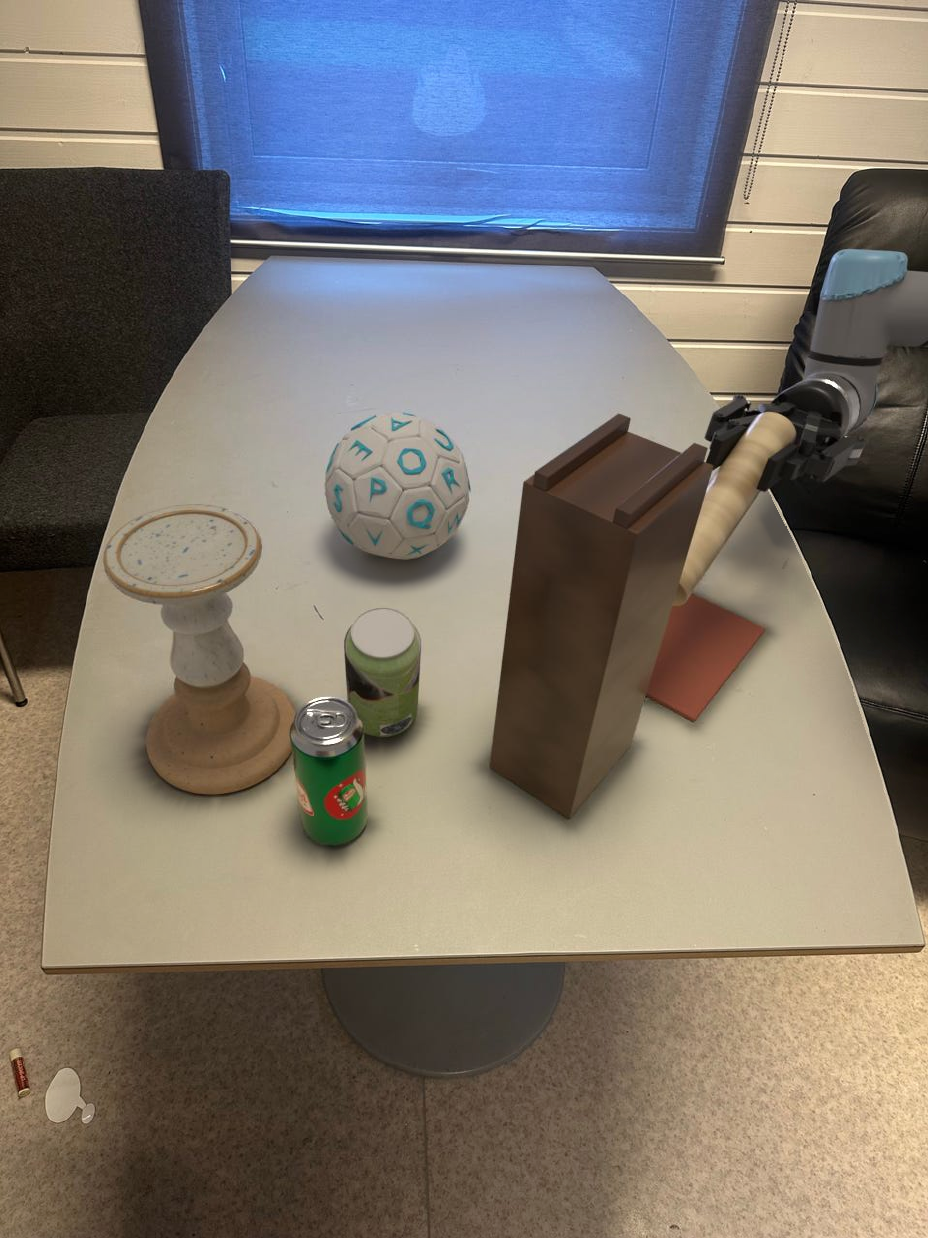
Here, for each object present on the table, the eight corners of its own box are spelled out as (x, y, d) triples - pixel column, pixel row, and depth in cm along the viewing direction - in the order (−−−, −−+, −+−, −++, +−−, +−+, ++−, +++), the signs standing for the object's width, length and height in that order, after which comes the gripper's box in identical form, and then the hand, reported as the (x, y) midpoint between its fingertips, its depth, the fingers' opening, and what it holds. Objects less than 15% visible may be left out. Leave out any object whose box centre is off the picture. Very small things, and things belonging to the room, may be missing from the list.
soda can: (303, 796, 66) (289, 693, 58) (367, 792, 66) (362, 690, 58) (300, 852, 62) (286, 750, 54) (368, 847, 63) (363, 746, 55)
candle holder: (306, 685, 75) (286, 497, 61) (288, 798, 65) (259, 607, 52) (168, 682, 74) (117, 492, 61) (130, 795, 65) (59, 601, 51)
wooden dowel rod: (749, 438, 76) (756, 405, 72) (791, 453, 74) (800, 420, 71) (640, 592, 68) (642, 563, 65) (684, 613, 66) (689, 584, 63)
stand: (631, 745, 71) (718, 451, 52) (569, 820, 65) (641, 519, 46) (554, 700, 75) (609, 408, 56) (488, 767, 69) (524, 466, 49)
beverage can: (407, 684, 75) (408, 583, 67) (430, 745, 70) (434, 644, 62) (339, 698, 74) (332, 596, 66) (357, 761, 69) (352, 659, 60)
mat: (764, 631, 83) (765, 628, 83) (693, 722, 74) (694, 719, 74) (659, 580, 89) (660, 577, 88) (580, 659, 79) (581, 656, 79)
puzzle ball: (306, 570, 87) (295, 444, 77) (358, 495, 98) (354, 376, 88) (444, 601, 84) (451, 475, 74) (481, 520, 95) (491, 401, 85)
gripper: (878, 480, 84) (822, 545, 67) (722, 423, 91) (634, 469, 74) (913, 409, 80) (862, 459, 63) (747, 355, 87) (660, 387, 70)
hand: (739, 464), depth 68 cm, fingers closed on wooden dowel rod, 4 cm apart
